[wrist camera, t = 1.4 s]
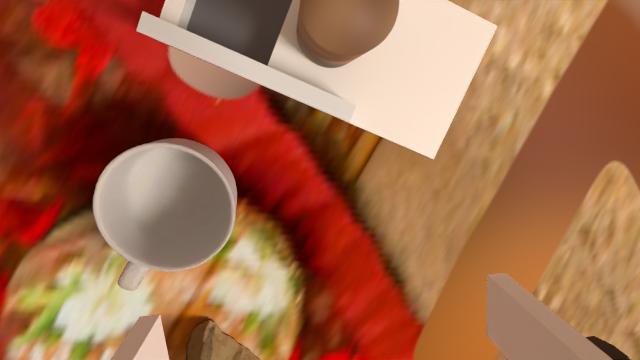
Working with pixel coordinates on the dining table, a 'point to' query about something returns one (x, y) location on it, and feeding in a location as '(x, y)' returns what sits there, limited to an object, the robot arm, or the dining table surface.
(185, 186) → the teacup
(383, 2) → the brown cylinder
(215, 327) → the rock
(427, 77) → the channel
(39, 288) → the dining table surface
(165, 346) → the robot arm
